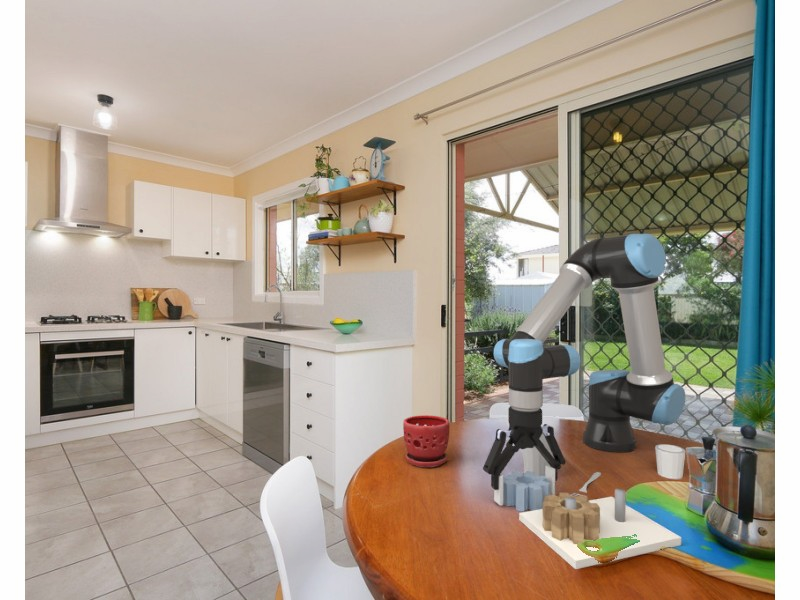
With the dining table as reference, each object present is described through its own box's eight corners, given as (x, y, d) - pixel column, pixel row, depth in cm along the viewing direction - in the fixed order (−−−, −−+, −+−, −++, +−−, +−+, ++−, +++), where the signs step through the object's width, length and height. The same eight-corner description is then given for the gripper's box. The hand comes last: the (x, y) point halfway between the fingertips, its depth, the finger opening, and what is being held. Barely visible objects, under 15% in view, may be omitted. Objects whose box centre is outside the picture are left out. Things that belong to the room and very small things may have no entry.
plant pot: (457, 466, 127) (457, 423, 127) (413, 473, 123) (413, 428, 122) (437, 450, 139) (437, 411, 139) (397, 456, 135) (396, 416, 134)
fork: (608, 471, 124) (608, 465, 123) (580, 506, 104) (580, 498, 104) (595, 468, 125) (595, 462, 125) (566, 502, 106) (566, 494, 106)
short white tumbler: (651, 475, 120) (652, 448, 120) (658, 467, 125) (659, 441, 125) (682, 482, 115) (682, 454, 115) (688, 474, 120) (688, 447, 120)
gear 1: (532, 488, 113) (532, 468, 113) (559, 508, 103) (559, 485, 103) (493, 494, 110) (493, 473, 109) (517, 515, 100) (517, 492, 99)
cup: (554, 482, 116) (554, 435, 116) (521, 480, 118) (521, 433, 117) (550, 470, 124) (550, 425, 124) (519, 467, 126) (519, 424, 125)
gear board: (611, 503, 105) (611, 470, 105) (681, 545, 88) (681, 506, 88) (519, 519, 98) (519, 485, 97) (575, 569, 81) (575, 527, 80)
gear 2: (560, 511, 98) (561, 488, 98) (609, 530, 90) (609, 505, 90) (532, 528, 92) (532, 503, 91) (582, 551, 83) (582, 523, 83)
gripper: (561, 399, 113) (560, 484, 113) (468, 407, 105) (468, 498, 106) (581, 406, 106) (581, 498, 106) (484, 415, 98) (483, 514, 99)
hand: (524, 498), depth 106 cm, fingers open, 13 cm apart
